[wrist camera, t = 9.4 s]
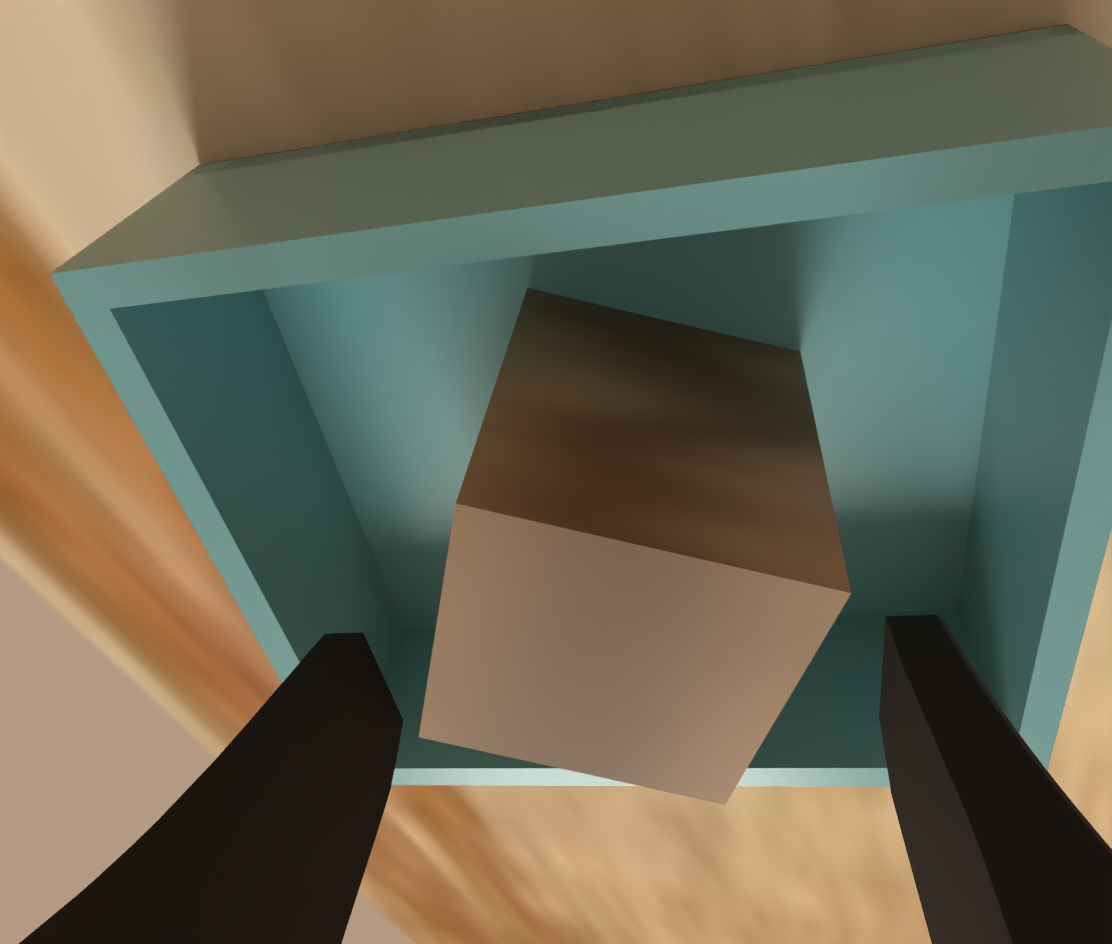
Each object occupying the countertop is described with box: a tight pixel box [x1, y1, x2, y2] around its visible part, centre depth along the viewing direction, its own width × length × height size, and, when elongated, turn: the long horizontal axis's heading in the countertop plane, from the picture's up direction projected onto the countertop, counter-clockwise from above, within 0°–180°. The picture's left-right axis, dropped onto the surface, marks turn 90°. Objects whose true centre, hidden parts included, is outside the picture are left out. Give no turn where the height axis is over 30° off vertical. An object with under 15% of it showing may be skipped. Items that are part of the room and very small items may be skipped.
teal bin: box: [50, 24, 1112, 787], centre depth 15 cm, size 14×12×4 cm
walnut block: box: [419, 288, 851, 804], centre depth 14 cm, size 5×5×6 cm
